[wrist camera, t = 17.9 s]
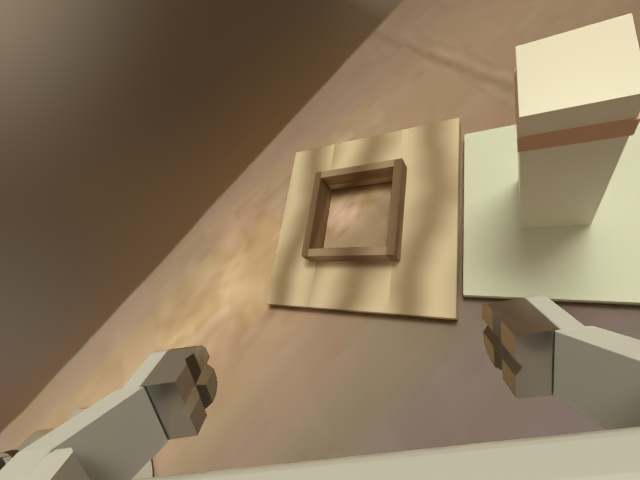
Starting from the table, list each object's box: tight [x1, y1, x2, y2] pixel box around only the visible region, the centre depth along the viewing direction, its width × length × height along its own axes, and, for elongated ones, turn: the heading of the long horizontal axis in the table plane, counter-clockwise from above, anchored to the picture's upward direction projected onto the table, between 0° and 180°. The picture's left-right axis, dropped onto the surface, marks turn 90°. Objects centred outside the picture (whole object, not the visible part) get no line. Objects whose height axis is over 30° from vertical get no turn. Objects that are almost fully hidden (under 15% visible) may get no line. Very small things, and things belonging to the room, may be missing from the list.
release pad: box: [463, 122, 640, 305], centre depth 27 cm, size 13×16×1 cm
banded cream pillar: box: [514, 13, 640, 228], centre depth 21 cm, size 5×5×14 cm
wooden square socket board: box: [266, 118, 461, 320], centre depth 35 cm, size 20×20×3 cm
